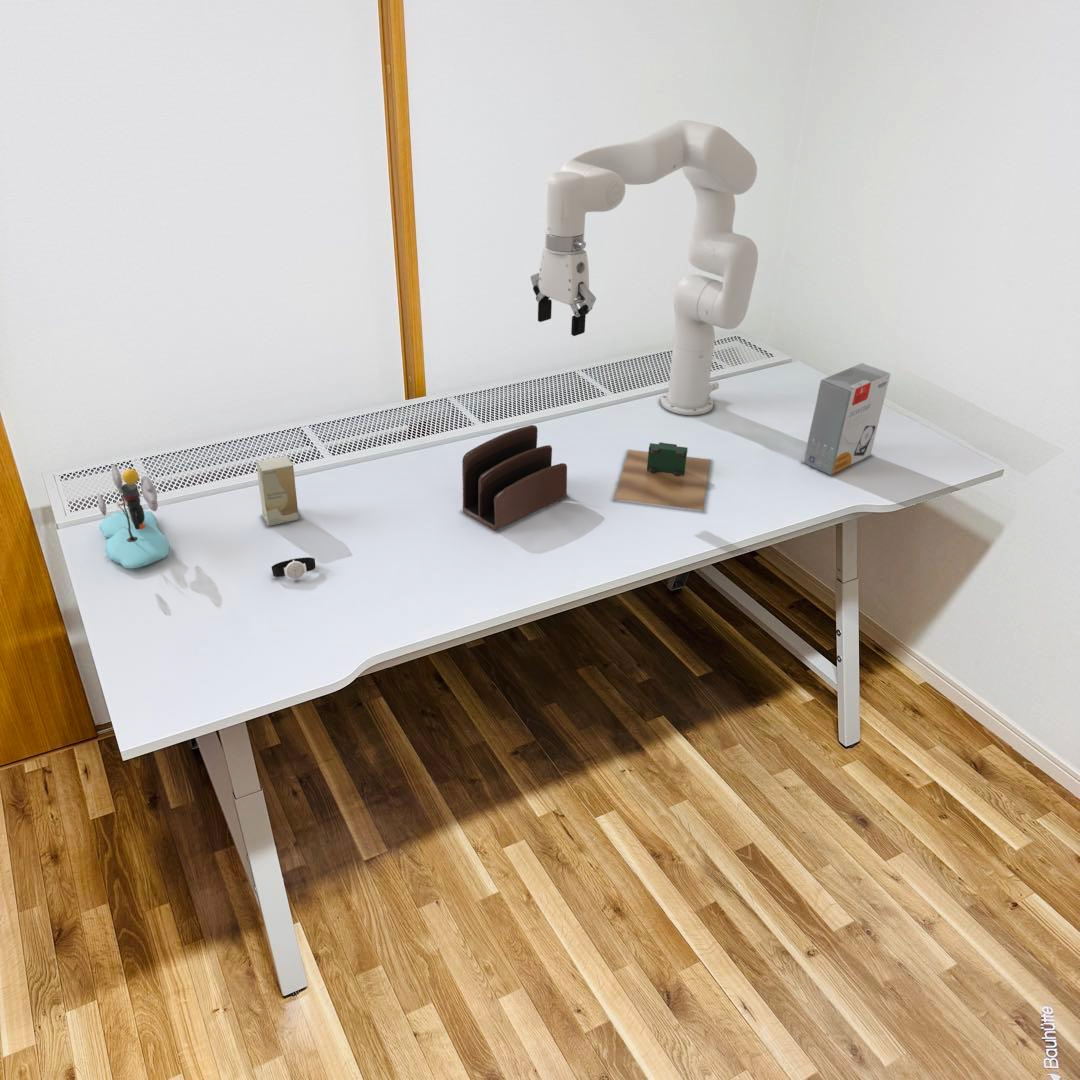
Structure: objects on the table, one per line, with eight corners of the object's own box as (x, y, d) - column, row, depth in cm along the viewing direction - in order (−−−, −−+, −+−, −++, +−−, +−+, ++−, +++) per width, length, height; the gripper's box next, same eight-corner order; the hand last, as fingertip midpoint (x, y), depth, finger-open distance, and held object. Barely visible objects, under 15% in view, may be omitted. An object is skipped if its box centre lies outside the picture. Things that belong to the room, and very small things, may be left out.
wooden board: (628, 451, 219) (628, 449, 219) (710, 461, 216) (710, 459, 216) (614, 500, 201) (614, 498, 201) (702, 512, 198) (702, 510, 198)
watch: (275, 585, 174) (272, 568, 172) (270, 570, 177) (267, 554, 175) (318, 575, 176) (316, 559, 175) (313, 561, 180) (311, 545, 178)
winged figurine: (98, 524, 189) (80, 454, 181) (156, 511, 193) (141, 443, 185) (113, 579, 174) (94, 505, 166) (175, 564, 178) (160, 491, 170)
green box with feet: (646, 472, 210) (648, 449, 207) (648, 463, 214) (650, 440, 211) (683, 477, 209) (686, 453, 206) (685, 467, 213) (688, 444, 210)
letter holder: (461, 512, 196) (460, 449, 188) (533, 479, 208) (534, 418, 200) (495, 532, 190) (495, 468, 182) (567, 497, 202) (570, 435, 194)
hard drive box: (831, 476, 212) (849, 391, 201) (802, 463, 216) (818, 379, 205) (872, 455, 220) (891, 372, 209) (843, 442, 225) (860, 361, 214)
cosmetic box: (268, 527, 190) (259, 471, 183) (262, 516, 193) (254, 461, 186) (301, 519, 192) (293, 464, 185) (294, 508, 195) (287, 454, 189)
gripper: (610, 248, 185) (604, 335, 194) (547, 227, 195) (545, 311, 205) (582, 256, 181) (577, 344, 190) (519, 234, 191) (518, 319, 200)
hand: (560, 327), depth 197 cm, fingers open, 9 cm apart
